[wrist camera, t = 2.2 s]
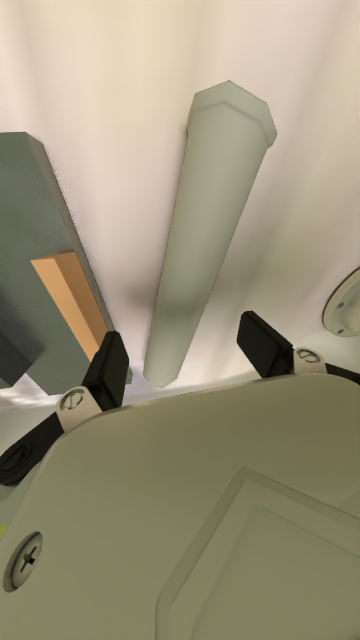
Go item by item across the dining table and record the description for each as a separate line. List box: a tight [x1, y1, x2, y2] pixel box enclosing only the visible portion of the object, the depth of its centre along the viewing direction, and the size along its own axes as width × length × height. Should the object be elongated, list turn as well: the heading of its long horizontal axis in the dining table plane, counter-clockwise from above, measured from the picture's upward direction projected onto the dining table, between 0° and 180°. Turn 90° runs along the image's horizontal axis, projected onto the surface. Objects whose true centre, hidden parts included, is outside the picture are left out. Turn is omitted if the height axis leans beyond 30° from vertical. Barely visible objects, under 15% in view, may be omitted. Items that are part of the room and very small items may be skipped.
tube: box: [143, 80, 277, 388], centre depth 15 cm, size 5×5×25 cm
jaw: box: [30, 252, 108, 362], centre depth 14 cm, size 2×12×3 cm, turn 4°
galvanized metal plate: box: [0, 132, 133, 396], centre depth 15 cm, size 12×25×4 cm, turn 4°
